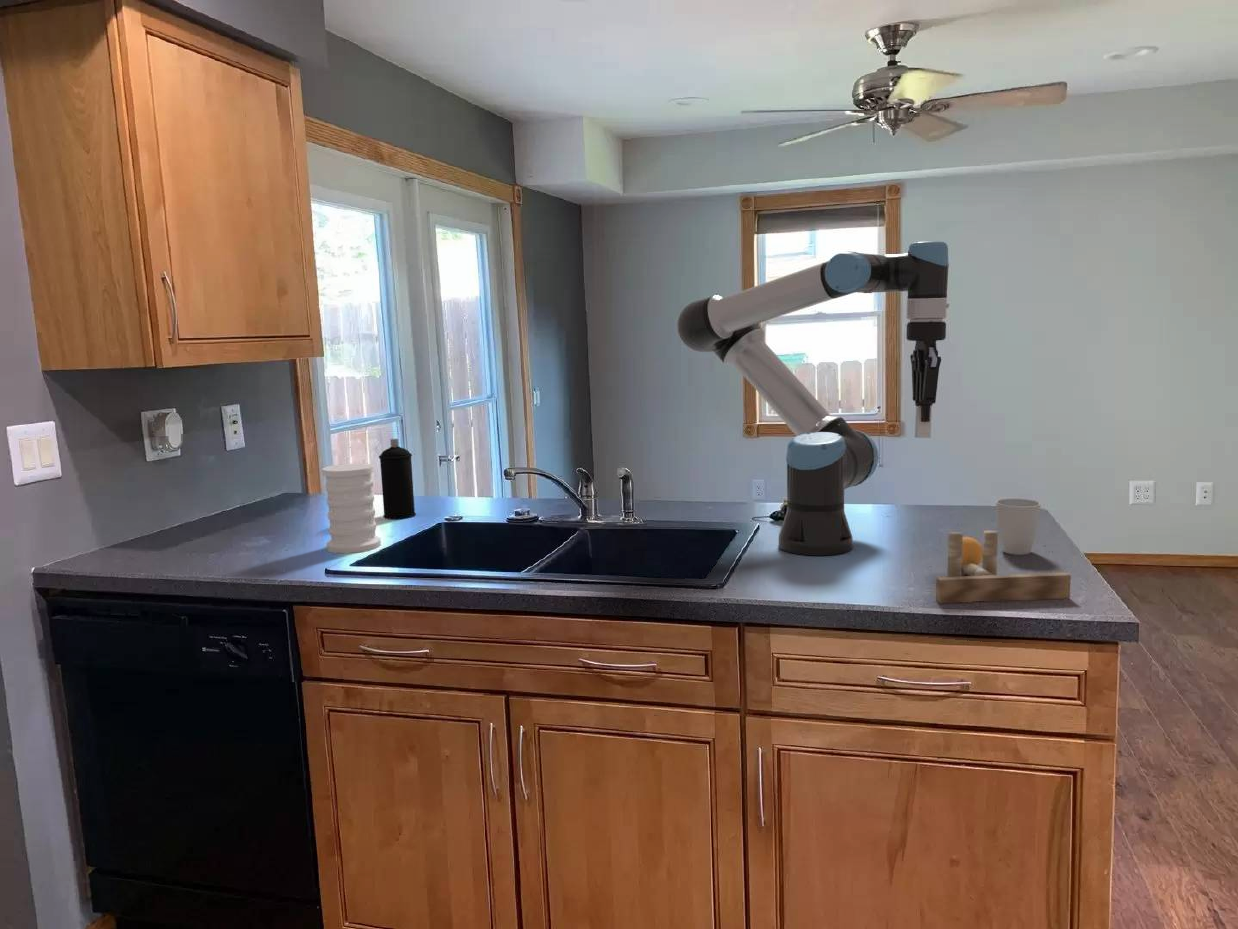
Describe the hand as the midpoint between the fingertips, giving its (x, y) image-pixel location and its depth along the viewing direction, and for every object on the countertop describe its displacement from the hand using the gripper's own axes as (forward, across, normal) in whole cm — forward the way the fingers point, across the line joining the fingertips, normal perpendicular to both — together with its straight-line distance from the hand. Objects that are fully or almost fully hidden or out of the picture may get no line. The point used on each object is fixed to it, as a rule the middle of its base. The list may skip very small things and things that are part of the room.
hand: (922, 437), depth 187 cm
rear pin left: (+22, -25, -5) cm, 34 cm away
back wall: (+22, -38, -3) cm, 44 cm away
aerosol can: (+24, +40, +121) cm, 129 cm away
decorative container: (+24, +8, +122) cm, 125 cm away
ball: (+20, -19, -3) cm, 27 cm away
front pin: (+21, -23, -2) cm, 31 cm away
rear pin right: (+23, -26, +1) cm, 34 cm away
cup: (+23, -7, -17) cm, 29 cm away
